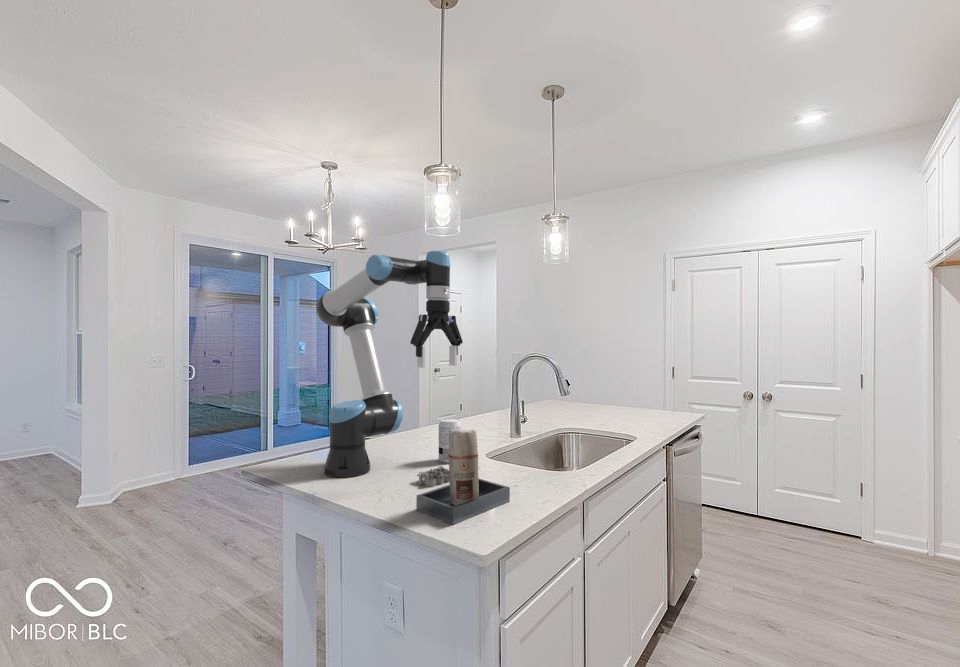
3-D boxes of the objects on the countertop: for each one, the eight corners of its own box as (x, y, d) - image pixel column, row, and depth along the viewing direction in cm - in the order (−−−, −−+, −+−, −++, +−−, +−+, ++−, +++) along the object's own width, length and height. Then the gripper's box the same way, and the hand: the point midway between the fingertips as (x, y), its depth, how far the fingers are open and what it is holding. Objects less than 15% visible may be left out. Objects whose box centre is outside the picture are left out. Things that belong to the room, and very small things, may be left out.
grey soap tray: (453, 525, 114) (453, 508, 114) (416, 510, 124) (416, 495, 124) (509, 501, 131) (509, 487, 131) (473, 490, 140) (473, 476, 140)
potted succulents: (429, 489, 142) (429, 475, 142) (414, 483, 148) (414, 470, 147) (456, 481, 149) (456, 468, 149) (441, 476, 155) (441, 463, 155)
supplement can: (438, 458, 176) (438, 418, 177) (460, 457, 177) (460, 418, 177) (438, 464, 168) (438, 422, 168) (461, 463, 169) (461, 422, 169)
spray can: (443, 505, 125) (443, 430, 125) (455, 495, 132) (455, 425, 133) (472, 509, 122) (473, 432, 122) (483, 499, 130) (483, 427, 130)
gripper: (414, 297, 137) (414, 369, 137) (473, 301, 156) (472, 365, 156) (399, 298, 143) (398, 367, 143) (457, 302, 161) (457, 364, 161)
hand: (437, 366), depth 149 cm, fingers open, 13 cm apart
